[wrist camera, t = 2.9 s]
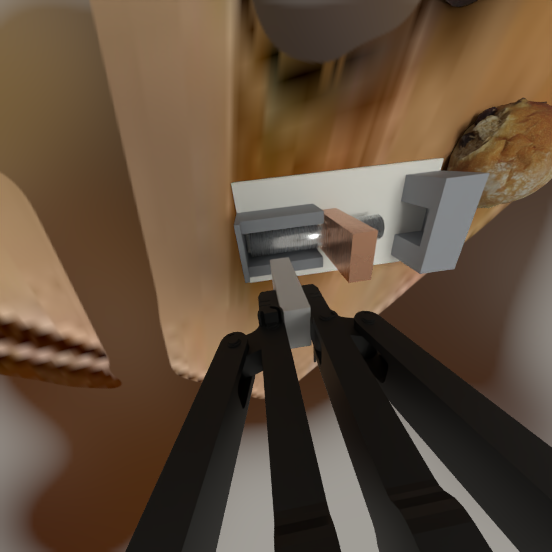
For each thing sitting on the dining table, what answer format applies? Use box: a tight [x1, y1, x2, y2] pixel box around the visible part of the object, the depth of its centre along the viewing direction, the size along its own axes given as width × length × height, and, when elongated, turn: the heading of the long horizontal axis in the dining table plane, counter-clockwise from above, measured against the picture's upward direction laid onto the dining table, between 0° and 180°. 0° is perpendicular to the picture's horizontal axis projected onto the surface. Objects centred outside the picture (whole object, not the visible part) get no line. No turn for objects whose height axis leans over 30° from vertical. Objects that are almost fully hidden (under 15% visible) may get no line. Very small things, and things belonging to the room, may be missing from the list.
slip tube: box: [248, 208, 385, 283], centre depth 21 cm, size 4×14×9 cm, turn 96°
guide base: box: [231, 158, 489, 283], centre depth 23 cm, size 12×23×6 cm, turn 96°
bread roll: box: [446, 98, 552, 208], centre depth 22 cm, size 10×10×8 cm
